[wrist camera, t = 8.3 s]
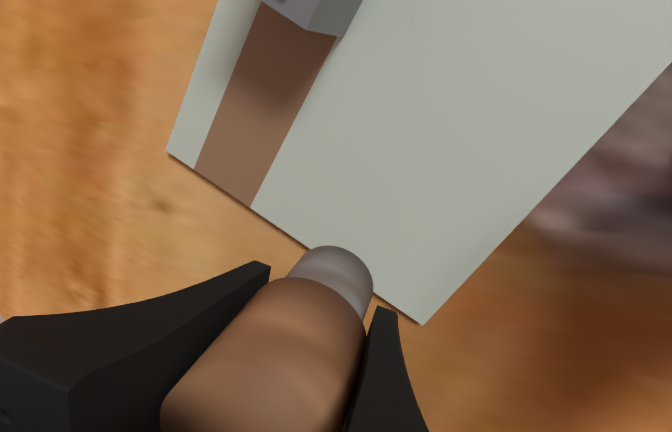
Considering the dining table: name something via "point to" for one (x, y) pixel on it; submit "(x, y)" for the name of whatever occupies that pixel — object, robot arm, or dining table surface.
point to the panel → (413, 122)
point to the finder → (318, 14)
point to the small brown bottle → (282, 355)
